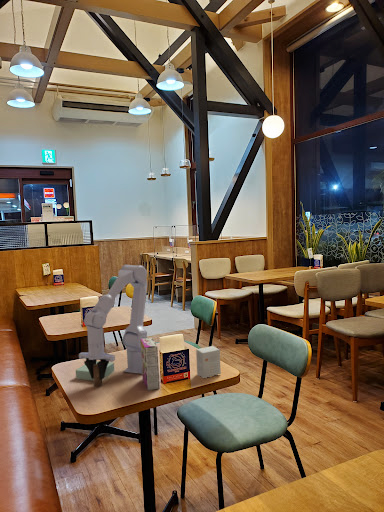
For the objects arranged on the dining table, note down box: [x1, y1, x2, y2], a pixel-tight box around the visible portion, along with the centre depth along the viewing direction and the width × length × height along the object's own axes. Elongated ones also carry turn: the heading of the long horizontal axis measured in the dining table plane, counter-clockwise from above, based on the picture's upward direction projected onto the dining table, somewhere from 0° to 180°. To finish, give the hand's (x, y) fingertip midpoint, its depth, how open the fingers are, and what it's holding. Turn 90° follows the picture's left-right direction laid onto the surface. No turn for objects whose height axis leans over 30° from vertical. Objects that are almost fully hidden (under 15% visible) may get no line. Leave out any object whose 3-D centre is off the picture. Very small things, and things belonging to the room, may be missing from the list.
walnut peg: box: [93, 364, 104, 388], centre depth 144 cm, size 3×3×8 cm
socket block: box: [75, 360, 115, 382], centre depth 155 cm, size 11×11×4 cm
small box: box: [195, 345, 221, 379], centre depth 150 cm, size 8×6×10 cm
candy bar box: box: [140, 337, 160, 391], centre depth 143 cm, size 11×5×16 cm, turn 17°
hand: (97, 378), depth 144 cm, fingers closed on walnut peg, 3 cm apart
